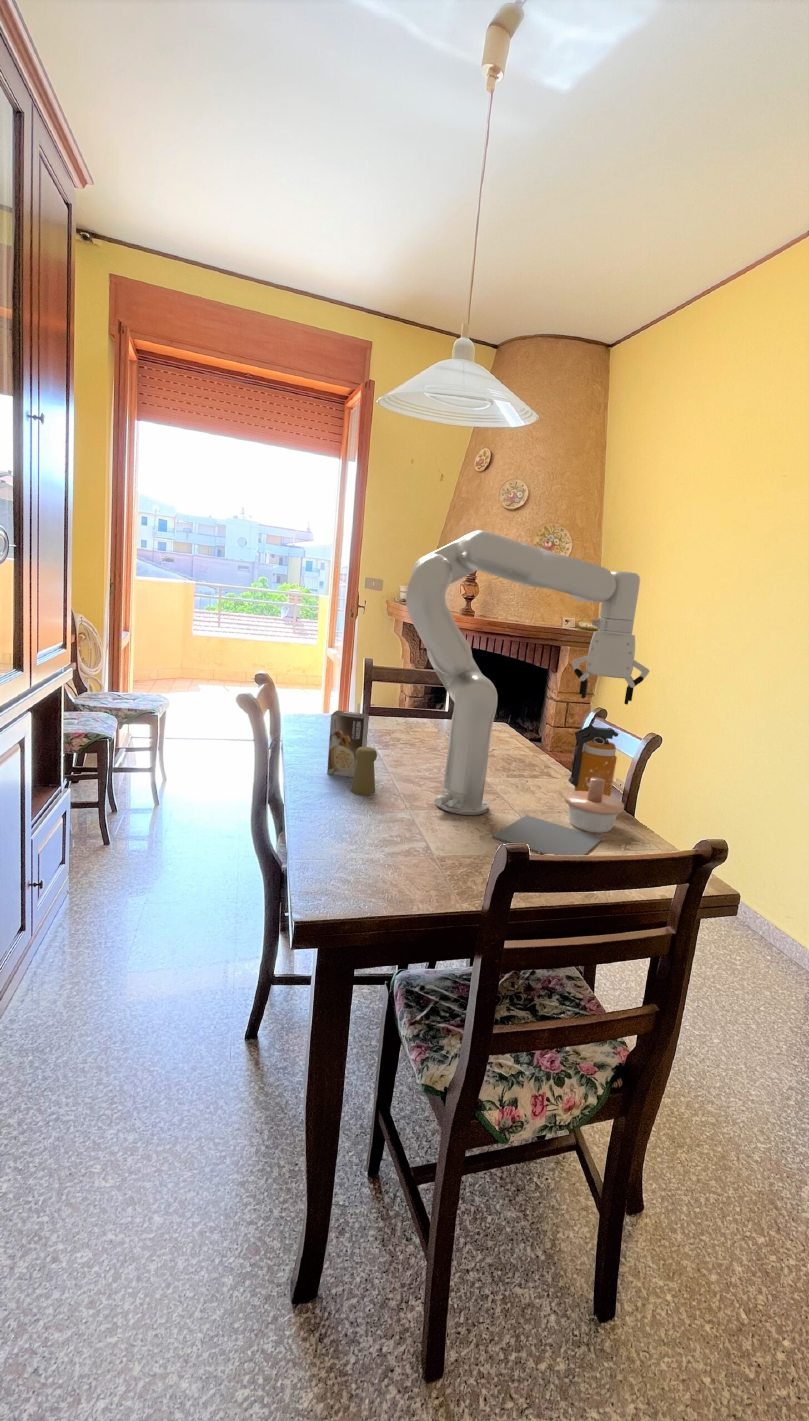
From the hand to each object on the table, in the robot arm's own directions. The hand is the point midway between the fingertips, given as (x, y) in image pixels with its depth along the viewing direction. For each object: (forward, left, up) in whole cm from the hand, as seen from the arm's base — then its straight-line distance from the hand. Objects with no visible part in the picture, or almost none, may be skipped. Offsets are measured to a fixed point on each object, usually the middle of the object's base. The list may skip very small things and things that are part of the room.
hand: (604, 700), depth 147 cm
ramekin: (-6, -3, -29) cm, 29 cm away
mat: (-22, +1, -28) cm, 36 cm away
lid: (-6, -3, -23) cm, 24 cm away
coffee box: (-21, +58, -29) cm, 68 cm away
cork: (-29, +46, -29) cm, 61 cm away
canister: (+11, +3, -29) cm, 31 cm away
